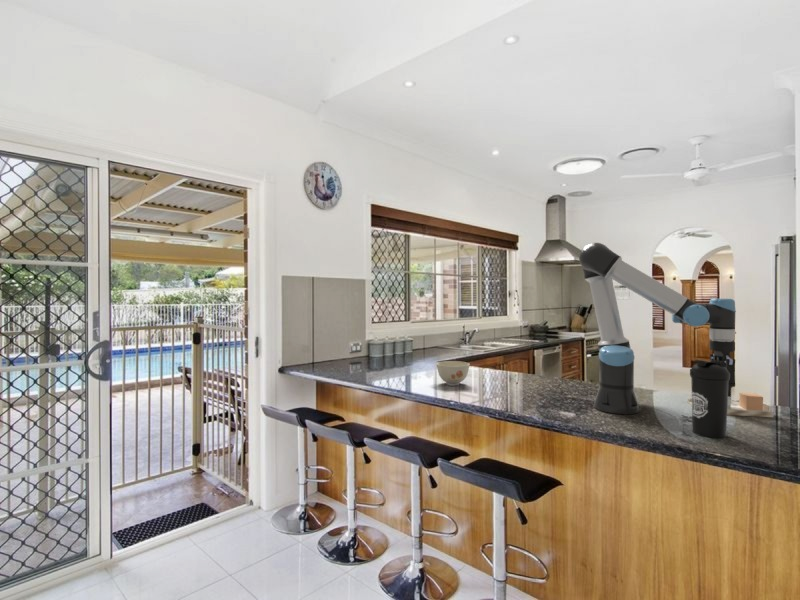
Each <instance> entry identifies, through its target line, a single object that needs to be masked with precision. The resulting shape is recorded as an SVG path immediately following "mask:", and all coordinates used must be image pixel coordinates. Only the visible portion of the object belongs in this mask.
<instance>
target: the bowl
mask: <svg viewBox="0 0 800 600" xmlns="http://www.w3.org/2000/svg"><path fill="white" fill-rule="evenodd" d="M436 368H437V373H438V376H439V377H440V378H441V381H444V382H445V384H446V385H447V386H452V387H455V386H460V384H461V382H463V381H464V380H465V379H466V378H467V376H468V373H469V369H470V362H465V361H459V360H458V361H457V360H445V361H439V362H436Z"/></svg>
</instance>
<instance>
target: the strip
mask: <svg viewBox="0 0 800 600" xmlns="http://www.w3.org/2000/svg"><path fill="white" fill-rule="evenodd" d="M727 410H742V411H759V410H746V409H744V408H742V407H740V406H733V405H727ZM760 412H773V405H772V404H769V403H767V402H764V401H763V411H760Z"/></svg>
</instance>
